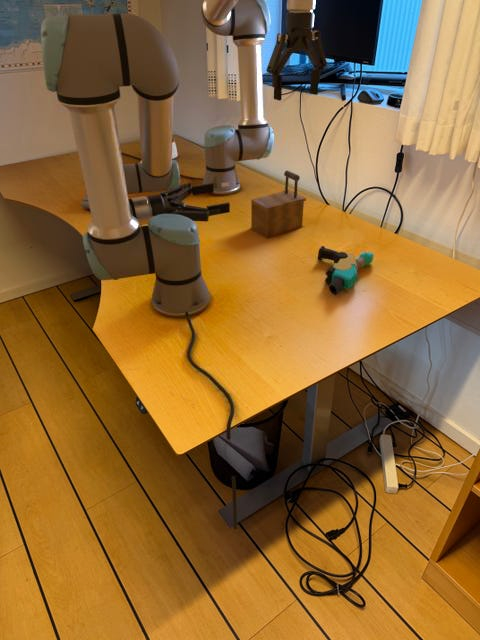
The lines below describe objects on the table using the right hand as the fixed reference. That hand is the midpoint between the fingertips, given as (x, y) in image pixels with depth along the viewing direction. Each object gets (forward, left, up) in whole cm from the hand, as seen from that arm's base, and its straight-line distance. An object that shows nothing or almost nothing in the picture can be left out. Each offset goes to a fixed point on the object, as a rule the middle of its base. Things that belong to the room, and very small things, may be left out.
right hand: (295, 96), depth 141 cm
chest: (0, -5, -40) cm, 41 cm away
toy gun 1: (-47, -50, -40) cm, 80 cm away
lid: (0, -5, -31) cm, 32 cm away
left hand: (+6, -29, -23) cm, 38 cm away
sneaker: (-84, -17, -40) cm, 94 cm away
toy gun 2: (+36, -8, -40) cm, 55 cm away
